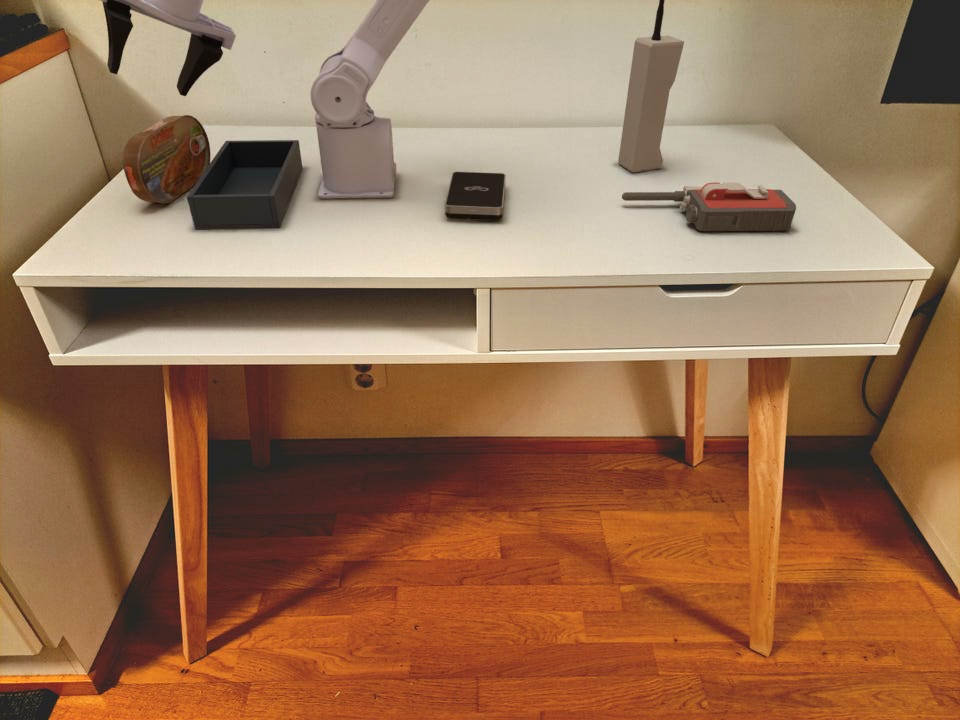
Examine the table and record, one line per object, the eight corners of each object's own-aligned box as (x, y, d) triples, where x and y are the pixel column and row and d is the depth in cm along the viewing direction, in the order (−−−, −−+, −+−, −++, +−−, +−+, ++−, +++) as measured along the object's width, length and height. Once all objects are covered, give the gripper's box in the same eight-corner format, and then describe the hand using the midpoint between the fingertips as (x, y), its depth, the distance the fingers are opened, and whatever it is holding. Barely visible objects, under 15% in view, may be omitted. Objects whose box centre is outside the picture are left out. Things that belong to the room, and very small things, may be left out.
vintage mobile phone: (661, 169, 96) (698, -35, 81) (631, 173, 94) (662, -33, 80) (647, 160, 99) (679, -38, 84) (617, 164, 97) (645, -37, 82)
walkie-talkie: (773, 202, 87) (618, 203, 86) (782, 168, 84) (623, 169, 84) (801, 232, 80) (633, 233, 79) (813, 197, 77) (639, 198, 77)
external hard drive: (505, 187, 90) (505, 173, 89) (502, 224, 81) (502, 208, 80) (453, 186, 90) (452, 171, 89) (444, 221, 81) (444, 206, 80)
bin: (302, 168, 94) (298, 139, 92) (279, 228, 79) (274, 195, 77) (231, 169, 94) (225, 140, 91) (195, 229, 79) (186, 196, 76)
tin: (154, 214, 82) (134, 145, 77) (131, 212, 82) (109, 143, 77) (217, 169, 94) (203, 107, 89) (196, 167, 94) (181, 105, 89)
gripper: (237, -19, 81) (201, 85, 87) (102, -80, 71) (73, 42, 77) (254, 7, 77) (215, 113, 83) (114, -55, 67) (82, 71, 73)
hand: (147, 81), depth 80 cm, fingers open, 7 cm apart
